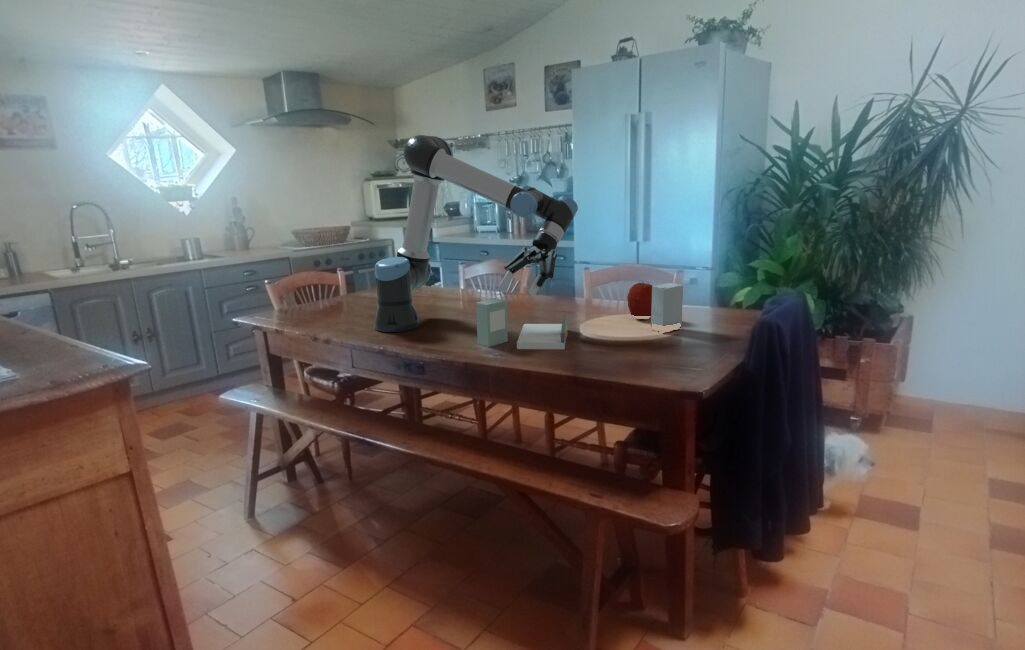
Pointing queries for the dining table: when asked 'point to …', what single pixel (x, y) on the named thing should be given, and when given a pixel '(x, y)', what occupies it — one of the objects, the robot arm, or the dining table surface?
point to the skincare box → (667, 304)
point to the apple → (640, 299)
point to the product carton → (491, 322)
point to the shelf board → (543, 336)
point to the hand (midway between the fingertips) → (515, 291)
